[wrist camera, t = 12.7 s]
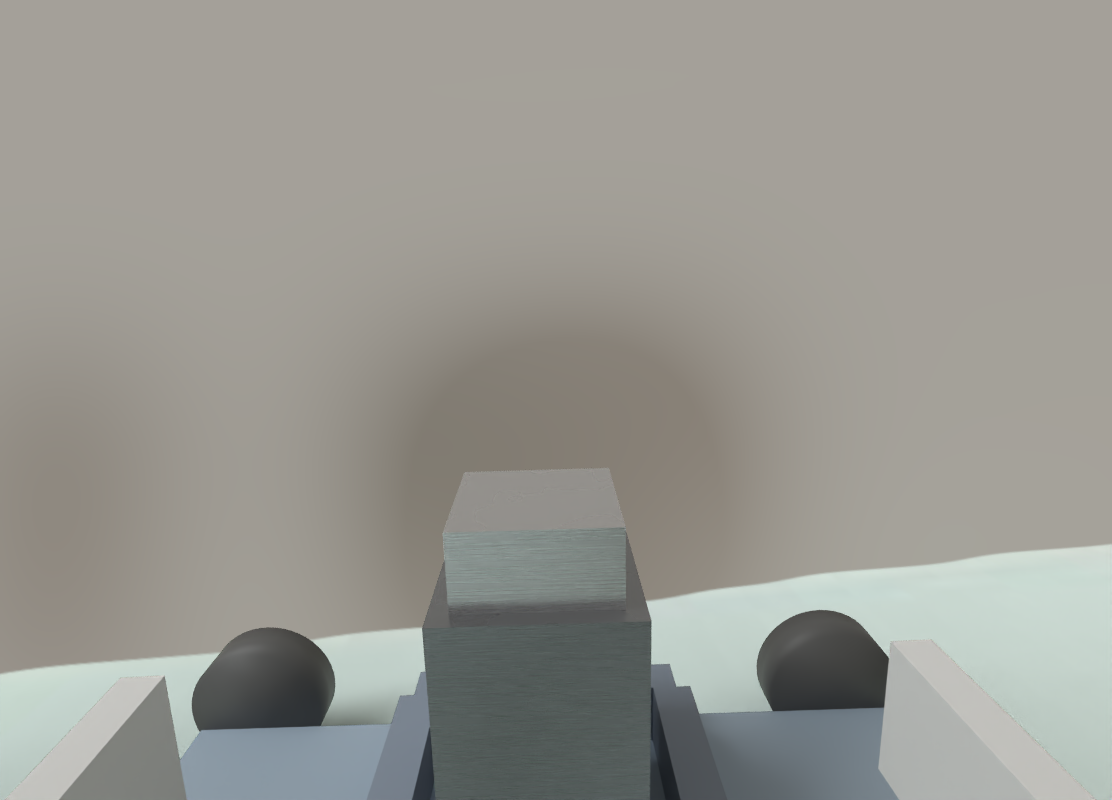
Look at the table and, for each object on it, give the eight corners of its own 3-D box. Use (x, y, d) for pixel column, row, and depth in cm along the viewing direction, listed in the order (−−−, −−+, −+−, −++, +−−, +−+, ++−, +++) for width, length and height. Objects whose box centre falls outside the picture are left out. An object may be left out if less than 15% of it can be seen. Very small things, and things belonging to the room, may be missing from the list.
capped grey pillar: (445, 921, 16) (415, 543, 14) (468, 765, 21) (448, 467, 19) (648, 914, 16) (651, 536, 14) (625, 760, 21) (624, 461, 19)
